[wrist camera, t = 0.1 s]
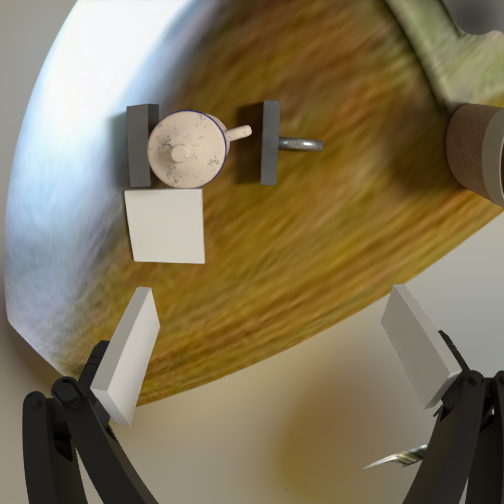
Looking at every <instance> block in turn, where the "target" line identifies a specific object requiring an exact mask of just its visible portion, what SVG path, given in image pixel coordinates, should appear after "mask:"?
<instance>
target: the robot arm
mask: <svg viewBox="0 0 504 504" xmlns="http://www.w3.org/2000/svg"><path fill="white" fill-rule="evenodd" d="M381 323H382V325H383V327H384V329H385V331H386V333H387V335H388V336H389V338H390V340H391V342H392V344H393V346H394V348H395V350H396V352H397V354H398V356H399V358H400V361H401V362H402V365H403V367H404V369H405V371H406V373H407V375H408V377H409V379H410V382H411V384H412V386H413V388H414V390H415V393H416V395H417V397H418V399H419V402H420V404H421V406H422V408H423V410H424V409H428V408H431V407H434V406H435V405H436V404H437V403H438V402H439V401H440V399H441V400H442V402H443V404H442V406H440V408H439V409H438V410H437V411H436V412H435V414H434V415H433V416H434V417H435V416H436V415H437V414H438V413H439V414H438V417H437V420H436V424H435V427H434V430H433V433H432V436H431V439H430V442H429V444H428V447H427V450H426V453H425V455H424V458H423V460H422V463H421V465H420V468H419V470H418V472H417V474H416V477H415V479H414V481H413V483H412V485H411V488H410V490H409V492H408V494H407V496H406V498H405V500H404V502H403V504H459V502H460V499H461V496H462V493H463V490H464V488H465V485H466V482H467V479H468V486H467V494H466V501H465V504H504V371H499V372H497V374H496V375H495V376H494V377H493V378H484V377H483V375H482V374H481V373H479V372H477V371H474V370H470V369H469V367H468V366H467V364H466V363H465V361H464V359H463V358H462V356H461V355H460V353H459V351H458V350H457V348H456V347H455V345H453V342H452V341H451V339H450V338H449V336H448V335H446V334H445V333H444V332H443V331H441V330H440V331H437V329H436V328H435V326H434V325H433V324H432V322H431V321H430V319H429V318H428V316H427V315H426V313H425V312H424V311H423V309H422V308H421V306H420V305H419V303H418V302H417V301H416V299H415V298H414V297H413V295H412V294H411V293H410V291H409V290H408V289H407V287H406V286H405V285H404V284H399V285H393V287H392V291H391V294H390V297H389V300H388V303H387V306H386V309H385V312H384V315H383V318H382V320H381ZM159 328H160V325H159V321H158V317H157V313H156V309H155V304H154V300H153V296H152V291H151V288H148V287H137V289H136V291H135V293H134V295H133V297H132V298H131V300H130V302H129V304H128V306H127V308H126V310H125V312H124V314H123V316H122V318H121V320H120V322H119V324H118V326H117V328H116V331H115V333H114V335H113V337H112V339H111V341H105V340H101V341H100V342H99V343H98V344H97V345H96V346H95V347H94V348H93V350H92V353H91V355H90V357H89V359H88V361H87V364H86V365H85V367H84V369H83V371H82V374H81V376H80V378H79V380H78V382H77V380H76V379H74V378H73V377H68V376H66V377H62V378H60V379H58V380H57V381H56V382H55V383H54V384H53V386H52V389H51V394H52V396H53V397H54V398H46V397H45V396H44V395H43V393H41V392H39V391H34V392H31V393H29V394H28V395H27V396H26V398H25V399H24V402H23V419H22V423H23V425H22V426H23V427H22V429H23V430H22V431H23V432H22V434H23V457H24V470H25V479H26V486H27V493H28V499H29V504H88V503H87V499H86V495H85V491H84V487H83V483H82V479H81V475H80V470H79V464H78V459H77V454H76V449H77V451H78V453H79V455H80V457H81V460H82V462H83V464H84V467H85V469H86V471H87V473H88V475H89V477H90V479H91V481H92V483H93V485H94V486H95V489H96V490H97V492H98V494H99V496H100V498H101V499H102V501H103V503H104V504H159V503H158V502H157V501H156V500H155V498H154V497H153V495H152V494H151V493H150V491H149V490H148V488H147V487H146V485H145V484H144V483H143V481H142V480H141V478H140V477H139V475H138V474H137V472H136V471H135V469H134V467H133V466H132V464H131V462H130V461H129V459H128V458H127V456H126V454H125V453H124V451H123V449H122V447H121V446H120V444H119V442H118V440H117V438H116V437H115V435H114V433H113V431H112V429H111V427H110V425H109V424H108V423H109V420H110V417H111V418H112V420H113V421H114V422H115V423H117V424H122V425H127V426H131V422H132V418H133V414H134V411H135V407H136V403H137V400H138V396H139V393H140V389H141V386H142V382H143V379H144V376H145V372H146V369H147V366H148V362H149V359H150V356H151V353H152V350H153V347H154V343H155V340H156V337H157V334H158V331H159ZM493 409H494V414H492V410H493ZM75 446H76V447H75ZM468 475H469V476H468Z"/></svg>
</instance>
